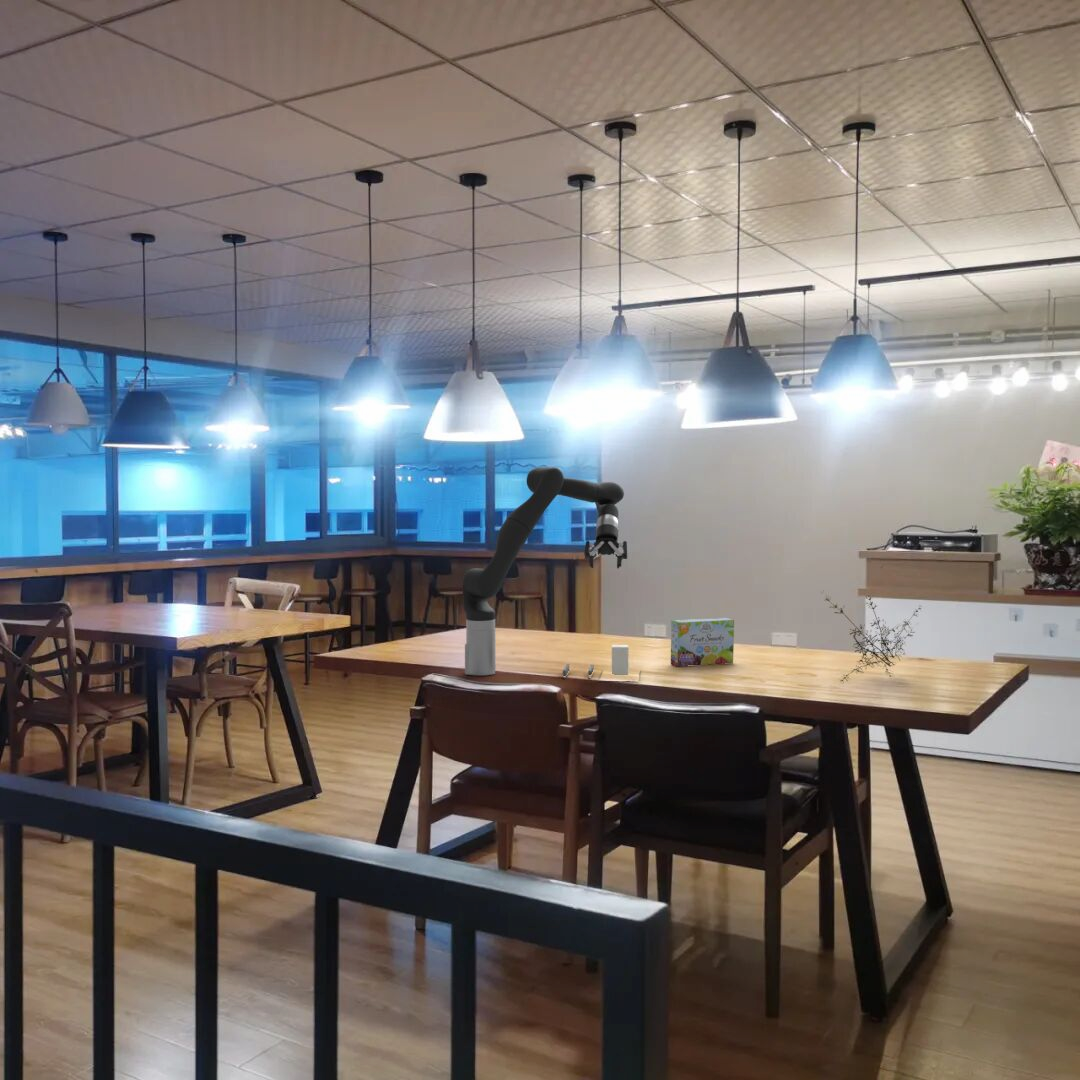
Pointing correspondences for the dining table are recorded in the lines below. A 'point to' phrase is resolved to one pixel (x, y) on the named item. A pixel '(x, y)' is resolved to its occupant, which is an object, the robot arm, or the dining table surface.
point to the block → (620, 659)
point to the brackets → (568, 670)
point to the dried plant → (875, 641)
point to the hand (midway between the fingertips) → (605, 566)
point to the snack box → (702, 641)
